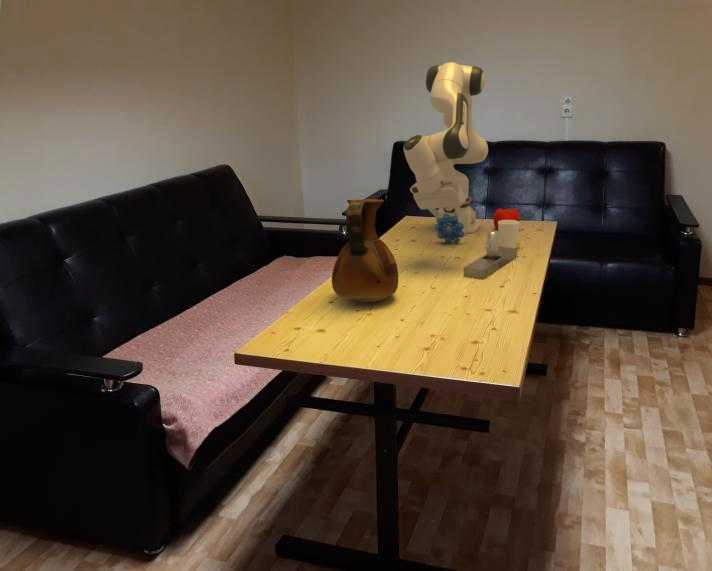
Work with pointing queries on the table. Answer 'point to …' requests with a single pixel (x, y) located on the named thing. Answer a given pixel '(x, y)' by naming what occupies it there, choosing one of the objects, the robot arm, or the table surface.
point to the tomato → (505, 215)
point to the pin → (492, 245)
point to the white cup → (508, 233)
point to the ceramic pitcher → (364, 257)
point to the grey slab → (489, 263)
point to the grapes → (449, 228)
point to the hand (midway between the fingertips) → (448, 217)
